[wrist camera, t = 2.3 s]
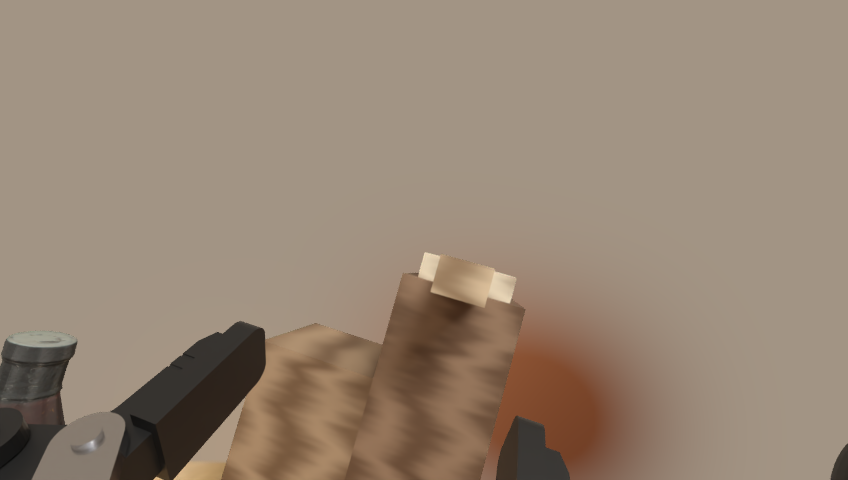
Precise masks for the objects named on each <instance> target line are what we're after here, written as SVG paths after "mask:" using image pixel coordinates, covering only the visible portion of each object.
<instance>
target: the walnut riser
mask: <svg viewBox="0 0 848 480" xmlns="http://www.w3.org/2000/svg"><path fill="white" fill-rule="evenodd" d="M418 275H419V273H405V274H403V275H402V278H401V282H400V285H399V289H398V292H397V296H396V299H395V303H394V306H393V310H392V313H391V317H390V321H389V324H388V328H387V331H386V335H385V338H384V342H383V345H381V344H378V343H375V342H372V341H369V340H366V339H363V338H360V337H356V336H354V335H351V334H348V333H344V332H341V331H338V330H335V329H332V328H329V327H326V326H323V325H320V324H317V323H315V324H312V325H309V326H306V327H303V328H300V329H297V330H294V331H291V332H288V333H284V334H281V335H278V336H275V337H272V338H269V339H266V340H265V350H266V366H265V370H264V372H263V375H262V377H261V378H260V380H259V381H258V383H257V384H256V385H255V386H254V387H253V388H252V390H251V391H250V392H249V393H248V394H247V395H246V398H245V402H244V405H243V408H242V412H241V415H240V418H239V422H238V425H237V429H236V432H235V435H234V439H233V442H232V446H231V449H230V452H229V455H228V459H227V462H226V466H225V469H224V472H223V476H222V479H221V480H480V479H481V474H482V471H483V467H484V463H485V460H486V456H487V452H488V448H489V445H490V441H491V437H492V433H493V429H494V426H495V422H496V418H497V414H498V411H499V407H500V403H501V399H502V395H503V392H504V388H505V384H506V381H507V377H508V373H509V369H510V365H511V362H512V358H513V354H514V350H515V346H516V343H517V339H518V335H519V332H520V328H521V324H522V320H523V316H524V313H525V309H524V308H523V307H522V306H520V305H519V304H518V303H516V302H515V301H513V300H512V299H511V301H510V304H509V303H506V302H502V301H499V300H496V299H492V298H489V297H487V301H486V304H485V308H483V307H480V306H476V305H473V304H470V303H466V302H463V301H459V300H456V299H453V298H449V297H446V296H442V295H439V294H436V293H432V292H431V288H432V284H433V281H430V280H427V279H423V278H420V277H418Z"/></svg>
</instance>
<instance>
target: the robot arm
mask: <svg viewBox="0 0 848 480" xmlns="http://www.w3.org/2000/svg"><path fill="white" fill-rule="evenodd" d="M265 366H266V350H265V331H264V329H262V328H260V327H257V326H254V325H251V324H248V323H245V322H242V321H239V322H237V323H235V324H234V325H233V326H231V327H230V328H229V329H228V330H227V331H226V332H224V333H223V334H222V333H219V332H217V333H214V334H212V335H210V336H208V337H206V338H204V339H201V340H199V341H198V342H196V343H195V344H194V345H193V346H192V347H190V348H189V349H188V350H187V351H185V352H184V353H183V355H182V356H179V357H178V358H177V359H176V360H175V361H173V362H172V363H171V364H170V366H169V367H166V368H165V369H164V370H162V371H161V372H160V373H158V374H157V375H156V376H155V377H154V378H152V379H151V380H150V381H149V382H147V383H146V384H145V385H144V386H143V387H141V388H140V389H139V390H138V391H136V392H135V393H134V394H133V395H132V396H130V397H129V398H128V399H127V400H125V401H124V402H123V403H122V404H121V405H119V406H118V407H117V408H115V409H114V410H112V411H111V412H99V413H94V414H90V415H88V416H84V417H82V418H80V419H77V420H76V421H74V422H72V423H70V424H69V425H49V424H27V423H26V421H25V419H24V417H23V415H22V413H21V412H20V411H19V410H16V409H14V408H5V407H4V408H0V480H153V479H154V478H155V477H159V478H161V479H163V480H173V479H174V478H175V477H176V476H177V475H178V473H179V472H180V471H181V470H182V469H183V468H184V467H185V465H186V464H187V463H188V462H189V461H190V460H191V458H192V457H193V456H194V455H195V454H196V453H197V452H198V450H199V449H200V448H201V447H202V446H203V445H204V443H205V442H206V441H207V440H208V439H209V438H210V437H211V436H212V434H213V433H214V432H215V431H216V430H217V429H218V427H219V426H220V425H221V424H222V423H223V422H224V420H225V419H226V418H227V417H228V416H229V415H230V414H231V412H232V411H233V410H234V409H235V408H236V407H237V406H238V404H239V403H240V402H241V401H242V400H243V399H244V398H245V396H246V395H247V394H248V393H249V392H250V391H251V390H252V388H253V387H254V386H255V385H256V384H257V383H258V381H259V380H260V378H261V377H262V375H263V372H264V370H265ZM496 480H570V477H569V472H568V470H567V468H566V466H565V464H564V461H563V459H562V457H561V455H560V453H559V452H557V451H554V450H551V449H549V448H546V447H545V429H544V426H543V425H542V424H540V423H537V422H534V421H531V420H528V419H525V418H522V417H519V416H516V417H515V419H514V421H513V423H512V426H511V428H510V430H509V432H508V435H507V437H506V439H505V442H504V444H503V446H502V449H501V452H500V456H499V460H498V466H497V476H496ZM831 480H848V444H847V445H846V446H845V447H844V448H843V450H842V451H841V453H840V454H839V456H838V458H837V460H836V462H835V465H834V468H833V471H832V474H831Z"/></svg>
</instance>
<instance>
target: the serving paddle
mask: <svg viewBox="0 0 848 480" xmlns="http://www.w3.org/2000/svg"><path fill="white" fill-rule="evenodd" d="M494 271H495V269H493V268H490V267H487V266H483V265H479V264H475V263H472V262H469V261H465V260H461V259H457V258H453V257H451V256H447V255H443V254H441V256H437V255H433V254H430V253H425V254H424V257H423V261H422V264H421V268H420V271H419V275H418V277H420V278H423V279H427V280H430V281H433V284H432V288H431V292H432V293H436V294H439V295H442V296H446V297H449V298H453V299H456V300H459V301H463V302H466V303H470V304H473V305H476V306H480V307H483V308H485V304H486V301H487V297H489V298H492V299H496V300H499V301H502V302H506V303H509V304H510V301H511V297H512V294H513V290H514V286H515V282H516V277H512V276H509V275H505V274H502V273H498V272H494Z"/></svg>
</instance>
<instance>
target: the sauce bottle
mask: <svg viewBox="0 0 848 480" xmlns="http://www.w3.org/2000/svg"><path fill="white" fill-rule="evenodd" d="M76 345H77V339H76V338H75V337H74V336H71V335H69V334H65V333H61V332H52V331H31V332H21V333H17V334H13V335H11V336H9V337H8V338H7V339H6V341H5V344H4V347H3V350H2V353H1V355H2V364H1V366H0V408H4V407H5V408H14V409H16V410H19V411H20V412H21V413H22V415H23V417H24V419H25V421H26V423H27V424H49V425H65V421H64V415H63V410H62V403H61V397H60V390H61V389H62V381H63V378H64V375H65V371H66V368H67V365H68V362H69V360H70V359H71V357H73V355H74V354H75V349H76Z"/></svg>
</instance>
